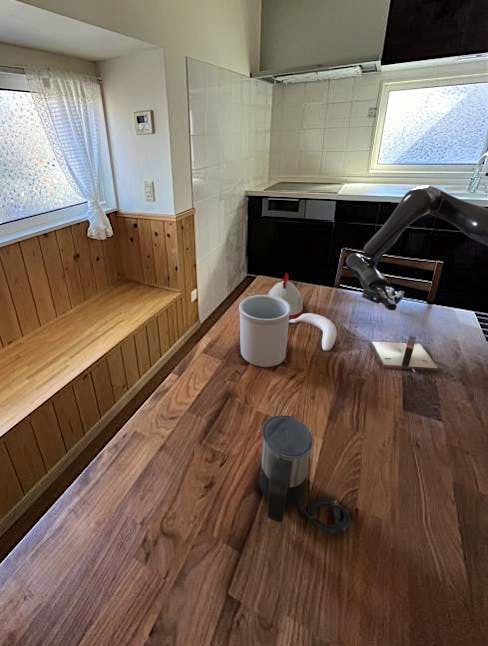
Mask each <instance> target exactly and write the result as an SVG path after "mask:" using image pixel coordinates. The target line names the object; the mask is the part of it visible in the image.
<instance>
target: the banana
mask: <svg viewBox="0 0 488 646" xmlns="http://www.w3.org/2000/svg"><path fill="white" fill-rule="evenodd" d="M289 323H293V324H296V323H303V324H310V325H313V326H315V327H316V328H318V329H320V331H322V338H321V348H322V350H323V351H325V352H329V351H330V350H331V349H333V347H334V345H335V343H336V340H337V334H338V332H337V331H338V330H337V327H336V325H335V323H334V322H332V320H330V319H329V318H326V317H325V316H323V315H320V314H316V313H313V312H312V313H311V312H309V313H308V312H307V313H302V314H301V315H300V316H299V317H297V318H294V319H289Z"/></svg>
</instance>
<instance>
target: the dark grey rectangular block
mask: <svg viewBox="0 0 488 646" xmlns="http://www.w3.org/2000/svg"><path fill="white" fill-rule="evenodd" d="M407 339H408V340H407V342H406V344H407V346H406V350H405V354H404V358H403V362H402V365H404V366H407V367H408V366H409V362H410V359H411V355H412V352H413V348H414V344H416V343H415V342H416V339H417V337H416V336H413V335H408V338H407Z"/></svg>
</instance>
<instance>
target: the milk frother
mask: <svg viewBox="0 0 488 646" xmlns="http://www.w3.org/2000/svg"><path fill="white" fill-rule="evenodd" d="M261 436H262V449H261V461H260V462H261V463H260V472H259V487H260V490H261V492H262V493H263V495H264V497H265V498H266V499H267V511H266V513H267V514H266V515H267V518H268V519H270V520H272V521H274V522H277V523H282V522H283V521H284V517H285V516H284V515H285V508H290V507H294V506H296V507H297V508H298V509H299V511H301V514H302V515H303V516H304V517H305V518H306V520H308V522H309V523H310V524H311V525H312V526H313V527H314V528H316V529H317V530H319V531H321V532H322V533H325V534H328V535H339V534H342V533H345V532H346V531H348V530H349V528H350V526H351V523H352V519H351V515H350V512H349V511H348V510H347V509H346V508H345V507H344V505H342V504H341V503H339V502H338V501H337V500H332V499H328V498H317V499H316V500H313V501H311V503H309V505H308V507H307V511H306V509H305V508H304V507H303V505H302V504H301V502H302V500H303V499H304V496H305V493H306V481H307V473H308V468H309V461H310V455H311V451H312V449H313V446H314V437H313V434H312V432H311V430H310V429H309V427H307V425H306V424H305V423H304V422H302V421H301V420H299V419H298V418H295V417H293V416H291V415H285V414H283V415H282V414H281V415H280V414H279V415H273V416H272V417H271V416H270V417H269V418H268V419H267V420H266V421H264V423H263V425H262V428H261ZM322 506H330V507H329V508H330V510H329V511H330V514H332V523H333V524H327V523H324V522H322V521H321V520H320V519H319V518H317V516H316V514H315V513H316V511H317V509H319V508H320V507H322Z"/></svg>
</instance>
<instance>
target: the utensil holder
mask: <svg viewBox="0 0 488 646" xmlns="http://www.w3.org/2000/svg"><path fill="white" fill-rule="evenodd" d="M238 312H239V337H240V338H239V340H240V341H239V344H240V354H241V356H242V358H243V359H244V360H245V361H246V362H247V363H250V364H251V365H254V366H257V367H262V368H263V367H264V368H269V367H270V368H271V367H276V366H278V365H279V364H281V363H282V362H284V360H285V359H286V353H287V345H288V333H289V323H290V322H289V320H290V319H289V315H290V306H289V304H288V303H287V302H286V301H285V300H283V299H281V298H279V297H276V296H272V295H267V294H256V295H251V296H247V297H245V298H244V299H242V300H241V301H240V303H239V305H238Z"/></svg>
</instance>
